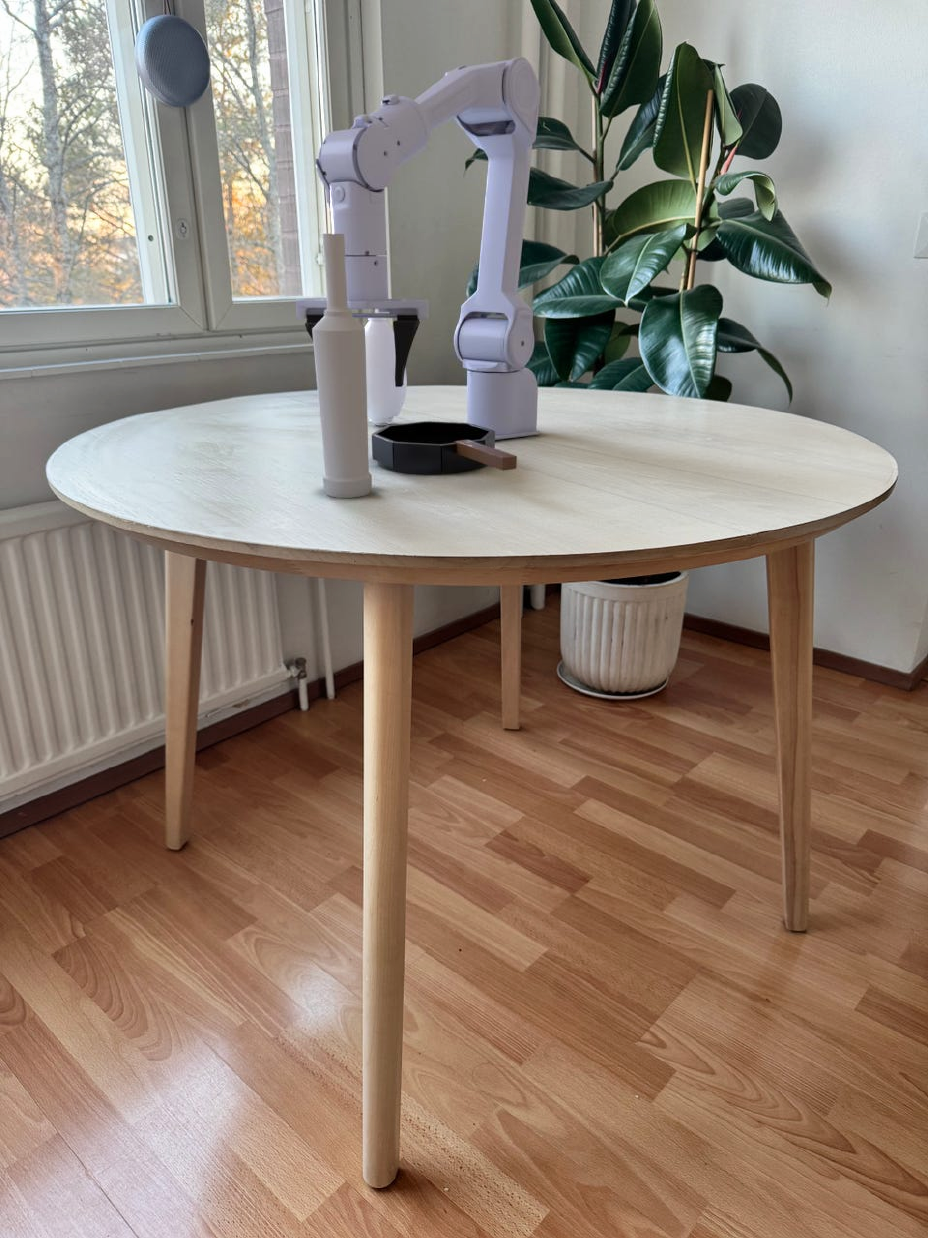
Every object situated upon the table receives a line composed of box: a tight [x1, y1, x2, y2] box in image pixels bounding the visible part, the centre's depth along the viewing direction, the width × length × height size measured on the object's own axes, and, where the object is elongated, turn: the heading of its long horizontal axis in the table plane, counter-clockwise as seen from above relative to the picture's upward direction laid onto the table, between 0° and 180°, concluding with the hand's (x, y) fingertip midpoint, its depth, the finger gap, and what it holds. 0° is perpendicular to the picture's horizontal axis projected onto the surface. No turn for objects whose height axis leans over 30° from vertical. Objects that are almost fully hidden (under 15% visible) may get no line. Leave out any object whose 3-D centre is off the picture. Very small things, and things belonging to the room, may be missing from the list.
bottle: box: [312, 233, 373, 499], centre depth 84 cm, size 5×5×25 cm
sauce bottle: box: [364, 309, 408, 426], centre depth 120 cm, size 8×8×18 cm
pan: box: [371, 420, 518, 476], centre depth 97 cm, size 14×24×4 cm, turn 31°
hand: (366, 385), depth 95 cm, fingers open, 7 cm apart
